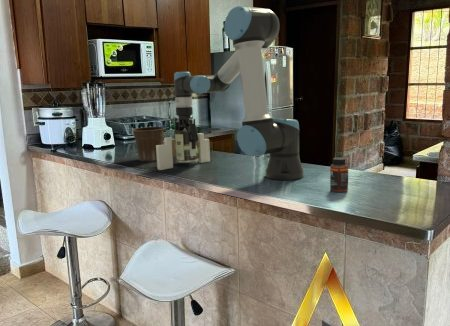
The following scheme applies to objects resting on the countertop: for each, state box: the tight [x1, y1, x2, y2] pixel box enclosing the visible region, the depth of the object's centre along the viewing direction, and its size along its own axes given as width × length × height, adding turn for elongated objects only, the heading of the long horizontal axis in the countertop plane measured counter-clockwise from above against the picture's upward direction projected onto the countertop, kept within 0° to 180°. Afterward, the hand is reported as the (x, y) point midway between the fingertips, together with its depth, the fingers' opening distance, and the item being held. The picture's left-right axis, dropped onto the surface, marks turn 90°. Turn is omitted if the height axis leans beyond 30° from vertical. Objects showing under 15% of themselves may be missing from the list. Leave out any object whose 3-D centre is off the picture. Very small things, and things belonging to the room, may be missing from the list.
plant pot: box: [131, 126, 165, 163], centre depth 215 cm, size 16×16×16 cm
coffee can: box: [173, 128, 198, 163], centre depth 195 cm, size 10×10×14 cm
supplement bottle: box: [329, 157, 349, 193], centre depth 143 cm, size 6×6×11 cm
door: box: [171, 139, 196, 164], centre depth 203 cm, size 13×3×11 cm, turn 94°
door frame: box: [156, 132, 211, 171], centre depth 197 cm, size 2×28×14 cm, turn 128°
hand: (186, 154), depth 195 cm, fingers closed on coffee can, 10 cm apart
